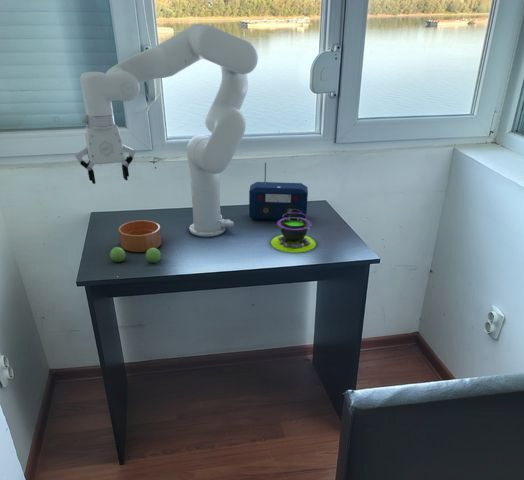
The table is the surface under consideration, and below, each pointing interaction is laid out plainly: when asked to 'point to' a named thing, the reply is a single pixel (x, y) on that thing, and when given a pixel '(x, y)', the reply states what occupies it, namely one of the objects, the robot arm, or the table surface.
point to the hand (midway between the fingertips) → (109, 180)
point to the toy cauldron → (293, 236)
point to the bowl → (140, 235)
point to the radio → (277, 200)
